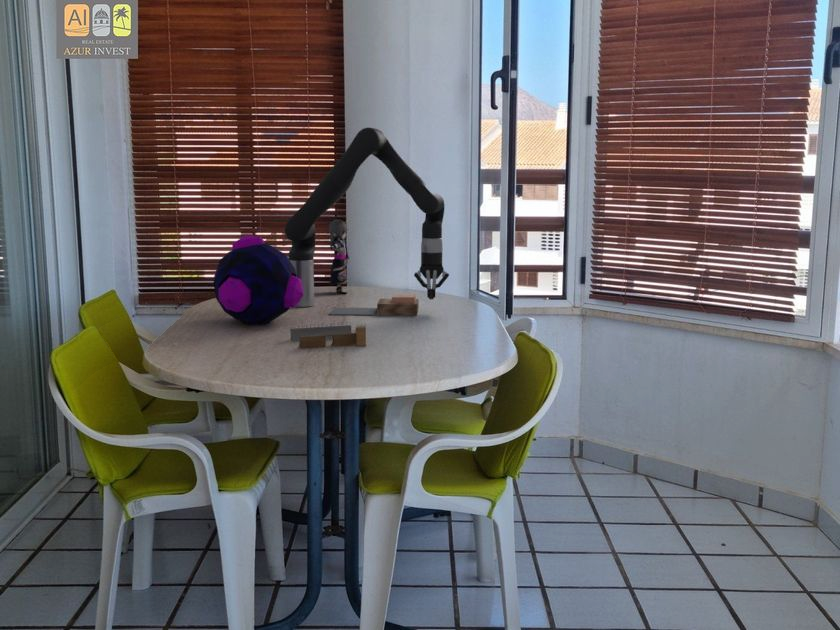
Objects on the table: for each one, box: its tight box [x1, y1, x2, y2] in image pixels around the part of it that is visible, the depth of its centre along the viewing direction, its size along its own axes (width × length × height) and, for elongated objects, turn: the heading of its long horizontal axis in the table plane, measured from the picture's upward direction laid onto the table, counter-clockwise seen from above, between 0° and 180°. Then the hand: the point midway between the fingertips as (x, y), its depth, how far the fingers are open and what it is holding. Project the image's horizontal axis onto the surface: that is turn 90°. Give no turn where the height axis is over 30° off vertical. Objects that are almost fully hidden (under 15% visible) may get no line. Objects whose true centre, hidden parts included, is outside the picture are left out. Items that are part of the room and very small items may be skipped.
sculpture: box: [213, 234, 304, 326], centre depth 300 cm, size 30×29×30 cm
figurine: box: [328, 219, 350, 294], centre depth 363 cm, size 17×8×30 cm, turn 179°
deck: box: [376, 298, 420, 316], centre depth 324 cm, size 14×12×4 cm
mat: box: [328, 307, 377, 317], centre depth 325 cm, size 16×14×1 cm
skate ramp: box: [290, 321, 367, 350], centre depth 266 cm, size 29×35×8 cm
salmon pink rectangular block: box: [391, 294, 416, 303], centre depth 323 cm, size 8×6×2 cm
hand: (431, 299), depth 323 cm, fingers closed
